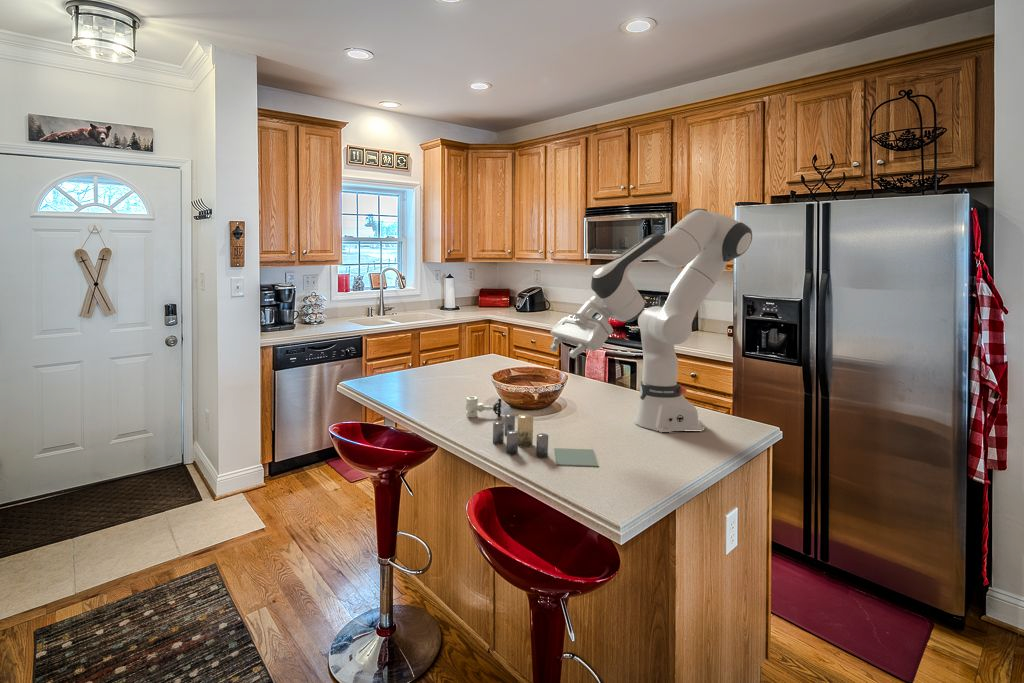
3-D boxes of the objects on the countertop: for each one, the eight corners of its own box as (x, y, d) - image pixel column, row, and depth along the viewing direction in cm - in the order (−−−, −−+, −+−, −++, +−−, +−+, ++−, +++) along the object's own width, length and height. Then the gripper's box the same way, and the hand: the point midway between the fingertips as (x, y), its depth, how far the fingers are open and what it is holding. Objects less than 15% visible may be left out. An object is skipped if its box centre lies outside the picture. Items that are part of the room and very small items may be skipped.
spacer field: (511, 431, 168) (512, 413, 167) (549, 457, 147) (550, 436, 147) (483, 435, 164) (483, 417, 163) (518, 462, 143) (519, 441, 142)
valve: (464, 419, 180) (500, 420, 180) (464, 400, 179) (500, 401, 179) (466, 413, 187) (501, 414, 186) (467, 395, 186) (501, 396, 185)
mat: (592, 450, 154) (592, 449, 153) (598, 466, 142) (598, 465, 142) (554, 449, 154) (554, 448, 154) (556, 465, 142) (556, 464, 142)
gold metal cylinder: (532, 442, 159) (533, 414, 158) (532, 447, 155) (533, 419, 153) (517, 441, 159) (518, 414, 158) (516, 447, 155) (517, 418, 153)
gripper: (563, 308, 168) (535, 339, 165) (607, 317, 151) (577, 352, 147) (573, 321, 171) (546, 353, 168) (617, 332, 154) (588, 367, 151)
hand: (561, 353), depth 157 cm, fingers open, 8 cm apart
